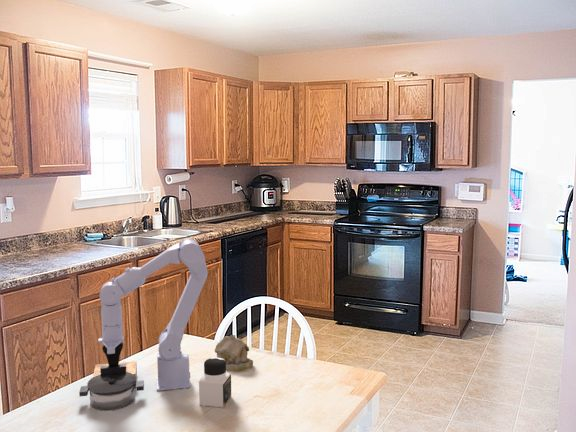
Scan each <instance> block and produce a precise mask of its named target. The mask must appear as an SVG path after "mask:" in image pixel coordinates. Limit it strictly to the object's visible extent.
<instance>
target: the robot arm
mask: <svg viewBox="0 0 576 432" xmlns="http://www.w3.org/2000/svg"><path fill="white" fill-rule="evenodd" d="M180 261H181V262H182V263H183V264H184V265H185V266H186V267H187V270H188V271H189V273H190V274H189V277H188V280H187V282H186V284H185V287H184V289H183V291H182V294H181V296H180V297H179V300H178V303H177V305H176V308H175V309H174V311H173V315H172V316H171V319H170V321H169V322H168V324H167V325H166V327H165V329H164V330H163V331H161V333H160V334H159V335H158V336H159V337H158V353H157V355H156V357H157V361H156V362H157V378H156V391H157V392H158V391H168V390H169V391H170V390H179V389H187V388H188V389H189V388H191V386H190V385H191V383H190V379H191V372H190V357H189V353H182V350H181V343H182V340H183V338H184V333H185V329H186V327H187V326H188V325H187V324H188V323H189V320H190V318H191V315H192V313H193V311H194V309H195V306H196V303H197V301H198V300H199V297H200V295H201V292H202V290H203V288H204V285H205V283H206V281H207V279H208V274H209V272H208V271H209V270H208V267H207V263H206V257H205V254H204V252H203V249H202V248H201V246H200V244H199V242H198V241H197V240H195V239H194V238H190V237H189V238H185V239H183V240H182V241H181V242H180V243H179V242H177V243H174V244H173V245H171V246H170V247H168V248H167V249H165V250H163V251H162V252H161V253H159V254H158V255H156V256H155V257H154V258H152V259H151V260H149V261H148V262H146V263H144V264H143V265H142V266H140V267H139V266H138V267H137V266H132V267H131V268H130V267H127V268H125V270H124V272H123V273H121V274H120V275H118V276H117V277H112V278H111V279H110V281H107V282H105V283H104V284H103V285H102V286H101V289H100V292H99V299H100V307H101V309H100V319H101V336H102V337H99V338H98V340H97V343H100V344H103V345H102V352H103V353H104V355H105V357H106V359H107V364H109V365H118V364H119V363H120V355H121V352H122V351H123V347H124V340H125V338H124V333H123V332H124V331H123V329H124V328H123V310H122V309H123V308H122V300H121V299H122V296H123V297H124V296H127V295H129V294H130V293H132V292H133V291H135V290H137V288H139V287H141V286H143V285H144V284H145V283H146V278H147V277H149V276H150V275H152V274H154V273H155V272H157V271H159V270H160V269H163V268H165V267H166V266H167V265H169V264H173V265H174V264H175V265H177V264H178V265H179V264H181V263H180Z"/></svg>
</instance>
